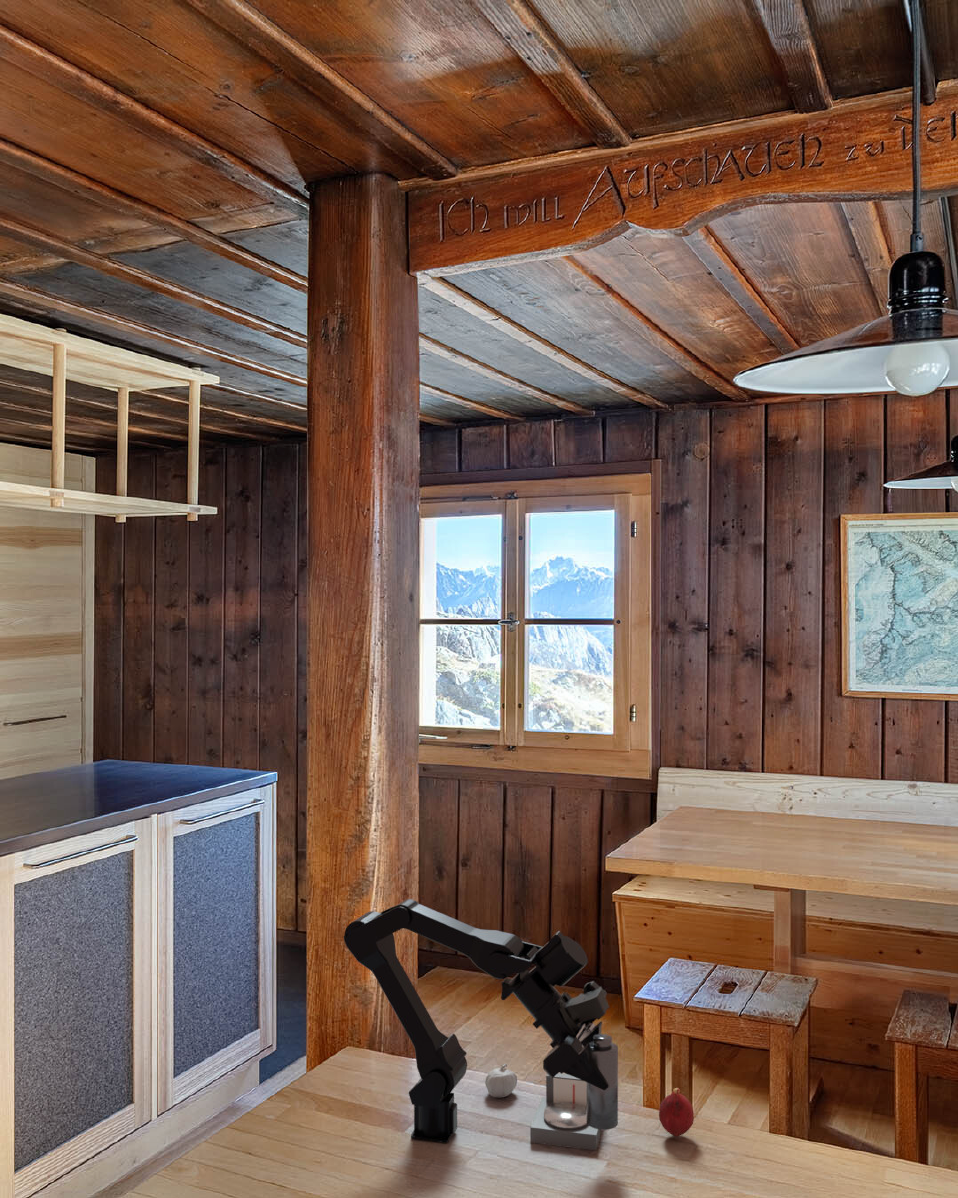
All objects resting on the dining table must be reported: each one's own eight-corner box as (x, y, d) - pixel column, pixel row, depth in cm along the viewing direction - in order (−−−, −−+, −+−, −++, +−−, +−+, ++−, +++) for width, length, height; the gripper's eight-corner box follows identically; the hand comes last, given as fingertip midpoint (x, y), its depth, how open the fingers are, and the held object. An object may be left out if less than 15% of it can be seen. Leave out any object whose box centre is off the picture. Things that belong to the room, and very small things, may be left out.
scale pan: (539, 1126, 176) (539, 1123, 176) (548, 1104, 183) (548, 1100, 183) (587, 1132, 174) (587, 1128, 174) (594, 1109, 181) (594, 1105, 181)
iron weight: (584, 1127, 167) (584, 1042, 167) (588, 1112, 172) (588, 1030, 172) (616, 1131, 166) (616, 1046, 166) (619, 1116, 171) (619, 1033, 171)
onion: (693, 1147, 174) (693, 1098, 174) (658, 1144, 175) (658, 1095, 175) (693, 1129, 179) (693, 1082, 179) (659, 1126, 181) (659, 1079, 181)
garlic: (507, 1084, 196) (507, 1056, 196) (522, 1096, 192) (522, 1068, 192) (479, 1092, 193) (479, 1064, 193) (494, 1104, 189) (494, 1075, 189)
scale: (530, 1142, 176) (530, 1100, 175) (542, 1111, 186) (542, 1071, 186) (596, 1150, 173) (596, 1107, 173) (604, 1118, 184) (604, 1078, 184)
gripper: (563, 992, 162) (634, 1076, 158) (592, 953, 179) (656, 1027, 175) (514, 1036, 164) (583, 1119, 161) (547, 994, 182) (610, 1067, 178)
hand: (610, 1081), depth 169 cm, fingers closed on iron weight, 5 cm apart
